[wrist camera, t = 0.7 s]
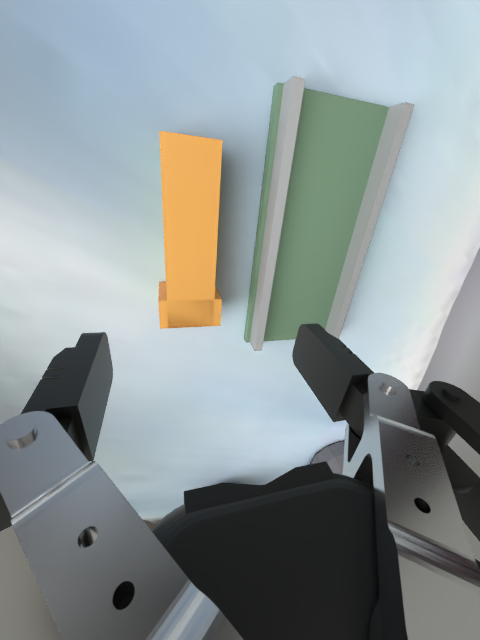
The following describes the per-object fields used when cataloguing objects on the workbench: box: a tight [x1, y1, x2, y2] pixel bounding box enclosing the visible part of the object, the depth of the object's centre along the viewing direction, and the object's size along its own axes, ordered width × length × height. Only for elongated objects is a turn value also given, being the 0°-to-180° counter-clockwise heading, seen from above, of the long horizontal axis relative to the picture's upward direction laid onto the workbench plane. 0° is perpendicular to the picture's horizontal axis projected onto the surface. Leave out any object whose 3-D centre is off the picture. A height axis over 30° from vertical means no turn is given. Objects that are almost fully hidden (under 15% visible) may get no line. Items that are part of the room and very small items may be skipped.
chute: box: [159, 131, 222, 328], centre depth 24 cm, size 16×6×5 cm, turn 175°
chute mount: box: [244, 76, 414, 351], centre depth 29 cm, size 26×13×3 cm, turn 175°
